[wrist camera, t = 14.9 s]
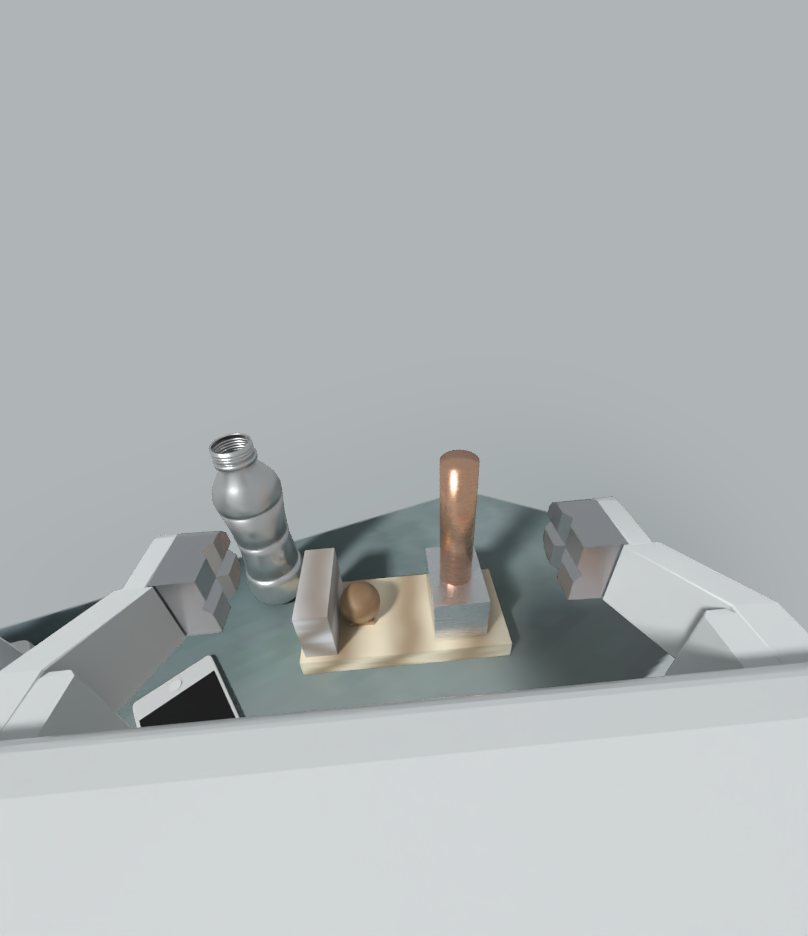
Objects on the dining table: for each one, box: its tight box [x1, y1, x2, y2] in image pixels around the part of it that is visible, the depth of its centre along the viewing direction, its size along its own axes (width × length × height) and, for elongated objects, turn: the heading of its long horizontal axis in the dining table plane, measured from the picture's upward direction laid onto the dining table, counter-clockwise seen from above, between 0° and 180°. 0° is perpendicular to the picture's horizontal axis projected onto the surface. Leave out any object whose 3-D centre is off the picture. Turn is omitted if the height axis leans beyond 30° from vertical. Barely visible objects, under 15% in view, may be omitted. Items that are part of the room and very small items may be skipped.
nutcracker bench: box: [292, 548, 512, 674], centre depth 39 cm, size 20×9×8 cm, turn 94°
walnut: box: [340, 581, 380, 627], centre depth 39 cm, size 4×4×4 cm
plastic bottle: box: [209, 433, 303, 605], centre depth 40 cm, size 6×7×20 cm
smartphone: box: [133, 655, 240, 728], centre depth 32 cm, size 7×16×1 cm, turn 41°
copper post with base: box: [425, 450, 490, 639], centre depth 35 cm, size 5×7×18 cm
